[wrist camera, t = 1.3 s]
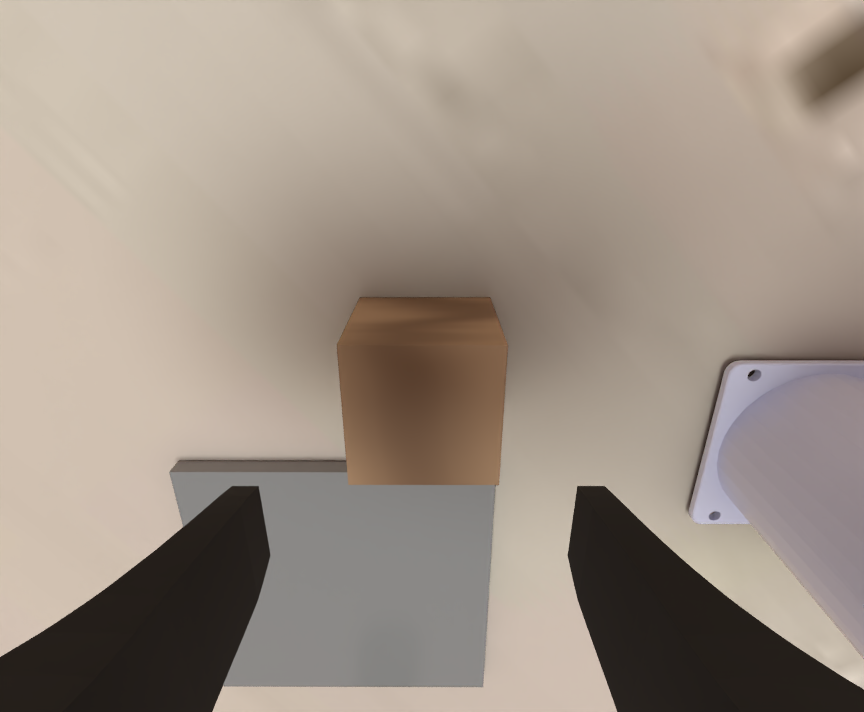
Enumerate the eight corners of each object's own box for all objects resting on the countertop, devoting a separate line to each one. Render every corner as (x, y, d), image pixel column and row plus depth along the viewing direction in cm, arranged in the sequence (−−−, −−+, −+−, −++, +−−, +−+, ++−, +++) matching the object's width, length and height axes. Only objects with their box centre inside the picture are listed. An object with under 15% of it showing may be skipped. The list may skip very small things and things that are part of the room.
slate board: (493, 461, 22) (496, 472, 21) (481, 672, 27) (483, 687, 27) (178, 460, 22) (169, 471, 21) (229, 671, 27) (223, 686, 27)
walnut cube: (489, 296, 19) (508, 345, 14) (484, 410, 21) (498, 484, 16) (360, 296, 19) (336, 345, 14) (367, 410, 21) (348, 484, 16)
